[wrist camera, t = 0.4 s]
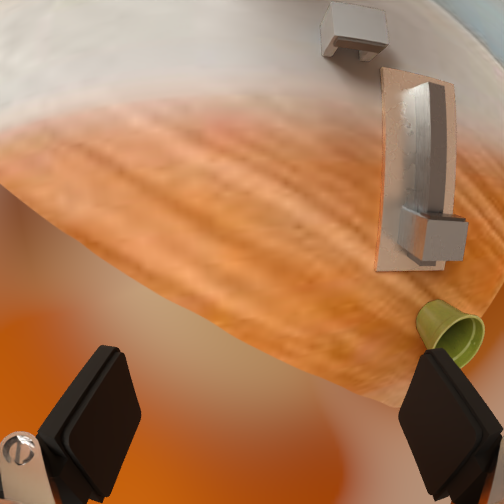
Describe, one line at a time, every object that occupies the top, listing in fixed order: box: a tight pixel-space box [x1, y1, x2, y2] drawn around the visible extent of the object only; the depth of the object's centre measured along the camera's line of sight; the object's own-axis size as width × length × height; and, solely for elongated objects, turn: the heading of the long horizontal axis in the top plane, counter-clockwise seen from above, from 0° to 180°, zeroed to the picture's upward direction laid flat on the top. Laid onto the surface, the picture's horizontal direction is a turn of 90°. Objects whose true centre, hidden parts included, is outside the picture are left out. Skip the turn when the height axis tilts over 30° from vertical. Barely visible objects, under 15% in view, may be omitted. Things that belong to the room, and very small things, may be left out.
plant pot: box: [416, 299, 485, 369], centre depth 36 cm, size 9×9×9 cm
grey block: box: [320, 1, 389, 62], centre depth 26 cm, size 5×6×7 cm
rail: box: [374, 67, 469, 271], centre depth 30 cm, size 26×11×8 cm, turn 0°
